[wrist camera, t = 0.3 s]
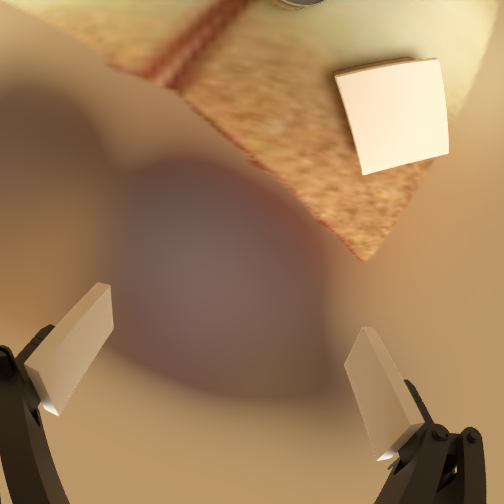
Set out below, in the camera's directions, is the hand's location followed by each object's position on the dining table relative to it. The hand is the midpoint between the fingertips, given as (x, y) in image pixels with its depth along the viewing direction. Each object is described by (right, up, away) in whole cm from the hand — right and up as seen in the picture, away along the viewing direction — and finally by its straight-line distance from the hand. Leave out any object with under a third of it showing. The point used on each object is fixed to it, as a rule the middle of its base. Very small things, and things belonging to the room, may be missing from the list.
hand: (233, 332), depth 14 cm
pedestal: (+19, +26, +19) cm, 37 cm away
